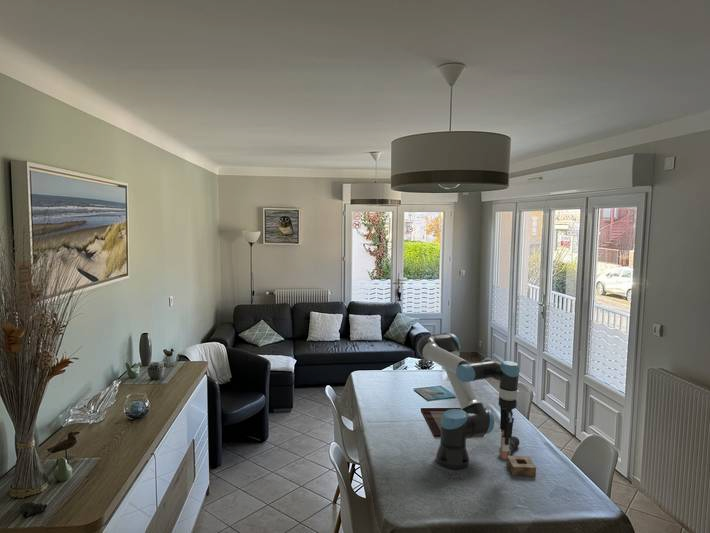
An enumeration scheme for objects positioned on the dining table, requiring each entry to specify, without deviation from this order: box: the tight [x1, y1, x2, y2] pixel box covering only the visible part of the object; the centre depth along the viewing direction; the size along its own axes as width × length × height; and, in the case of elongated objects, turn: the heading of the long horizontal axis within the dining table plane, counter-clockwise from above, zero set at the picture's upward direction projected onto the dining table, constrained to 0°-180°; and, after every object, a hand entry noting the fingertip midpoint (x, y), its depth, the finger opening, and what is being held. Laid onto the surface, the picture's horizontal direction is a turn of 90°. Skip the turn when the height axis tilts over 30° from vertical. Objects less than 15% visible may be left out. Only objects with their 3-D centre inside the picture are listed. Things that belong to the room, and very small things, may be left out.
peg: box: [500, 430, 508, 460], centre depth 208 cm, size 3×3×12 cm
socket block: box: [506, 455, 537, 477], centre depth 214 cm, size 10×10×4 cm
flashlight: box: [498, 435, 520, 456], centre depth 233 cm, size 15×5×5 cm, turn 143°
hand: (504, 449), depth 208 cm, fingers closed on peg, 2 cm apart
